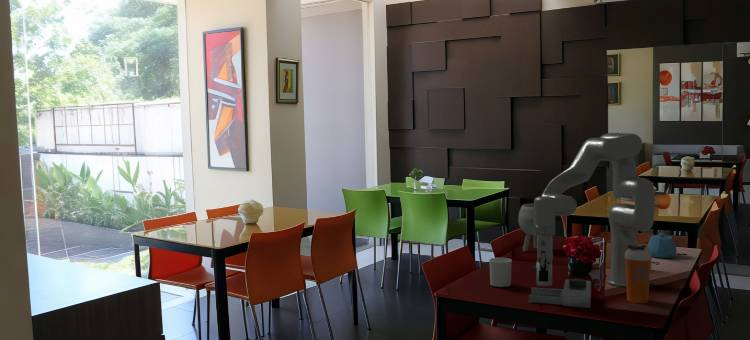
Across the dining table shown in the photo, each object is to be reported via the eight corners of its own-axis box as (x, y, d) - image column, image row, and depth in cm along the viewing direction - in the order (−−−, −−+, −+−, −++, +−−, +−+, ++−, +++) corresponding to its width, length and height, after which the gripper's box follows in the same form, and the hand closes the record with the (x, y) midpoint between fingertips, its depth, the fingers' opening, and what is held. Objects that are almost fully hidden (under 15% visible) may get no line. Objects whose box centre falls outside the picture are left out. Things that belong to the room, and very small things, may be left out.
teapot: (645, 236, 297) (648, 229, 313) (645, 259, 298) (647, 251, 314) (676, 238, 291) (677, 231, 307) (675, 262, 292) (676, 253, 308)
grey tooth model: (556, 253, 314) (556, 207, 312) (522, 254, 315) (522, 208, 313) (547, 246, 330) (547, 202, 328) (515, 247, 331) (515, 203, 329)
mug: (507, 289, 255) (507, 263, 254) (485, 286, 260) (485, 261, 259) (516, 282, 264) (516, 257, 263) (496, 280, 269) (495, 255, 268)
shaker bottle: (619, 297, 240) (620, 243, 238) (643, 296, 241) (643, 242, 239) (631, 304, 231) (632, 249, 230) (655, 303, 232) (656, 247, 230)
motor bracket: (590, 294, 245) (591, 274, 244) (590, 307, 229) (590, 286, 228) (532, 291, 252) (532, 271, 251) (528, 303, 236) (528, 282, 235)
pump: (552, 282, 242) (552, 259, 241) (551, 286, 237) (551, 262, 236) (533, 281, 244) (533, 258, 244) (531, 285, 239) (531, 261, 238)
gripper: (553, 235, 229) (553, 285, 231) (556, 226, 245) (556, 274, 247) (531, 234, 232) (531, 284, 233) (536, 226, 248) (535, 273, 249)
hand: (544, 278), depth 240 cm, fingers closed on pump, 5 cm apart
